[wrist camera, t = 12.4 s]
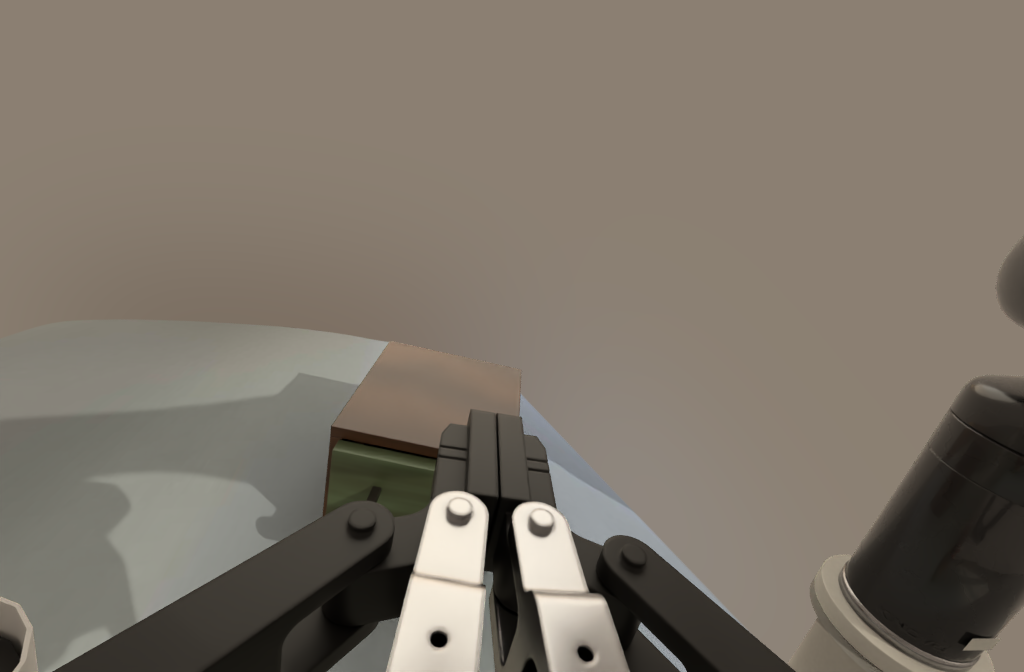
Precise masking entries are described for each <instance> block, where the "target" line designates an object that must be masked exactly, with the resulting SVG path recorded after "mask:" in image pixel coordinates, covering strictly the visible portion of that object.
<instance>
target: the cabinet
mask: <svg viewBox="0 0 1024 672" xmlns="http://www.w3.org/2000/svg"><path fill="white" fill-rule="evenodd" d="M520 388H521V370H520V369H516V368H511V367H507V366H502V365H497V364H493V363H488V362H484V361H479V360H475V359H470V358H465V357H461V356H457V355H452V354H448V353H443V352H439V351H434V350H429V349H425V348H420V347H416V346H411V345H407V344H402V343H397V342H393V341H390V342H389V343H388V345H387V346H386V348H385V349H384V351H383V352H382V354H381V355H380V356H379V358H378V359H377V361H376V362H375V364H374V365H373V367H372V368H371V369H370V371H369V372H368V374H367V375H366V377H365V378H364V380H363V381H362V383H361V384H360V385H359V387H358V388H357V390H356V391H355V393H354V394H353V396H352V397H351V398H350V400H349V401H348V403H347V404H346V406H345V407H344V409H343V410H342V412H341V413H340V414H339V416H338V417H337V419H336V420H335V422H334V423H333V425H332V426H331V434H330V435H331V436H330V446H329V456H328V466H327V476H326V487H325V497H324V507H323V516H325V515H326V508H327V498H328V488H329V479H330V469H331V459H332V450H333V448H334V447H335V445H336V444H337V442H338V440H343V441H348V442H353V443H355V441H358V442H362V443H367V444H372V445H377V446H382V447H386V448H391V449H396V450H401V451H406V452H410V453H415V454H420V455H425V456H429V457H434V458H437V454H438V449H439V444H440V439H441V434H442V432H443V431H444V430H445V429H446V427H447V426H448V425H449V424H450V423H453V424H459V425H466V426H467V422H468V417H469V413H470V410H471V409H475V410H481V411H487V412H494V413H495V414H497V413H500V414H507V415H513V416H519V412H520Z"/></svg>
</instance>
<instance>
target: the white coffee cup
mask: <svg viewBox="0 0 1024 672" xmlns="http://www.w3.org/2000/svg"><path fill="white" fill-rule="evenodd" d="M0 672H38V666H37V657H36V649H35V641H34V633H33V627H32V625H31V623H30V621H29V620H28V618H27V616H26V614H25V613H24V611H23V609H22V607H21V605H20V604H18V603H16V602H13V601H10V600H8V599H5V598H3V597H0Z"/></svg>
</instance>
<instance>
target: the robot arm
mask: <svg viewBox="0 0 1024 672" xmlns="http://www.w3.org/2000/svg"><path fill="white" fill-rule="evenodd" d="M996 296H997V300H998V303H999V305H1000V308H1001V310H1002V311H1003V312H1004V313H1005V315H1006V316H1007V317H1008V318H1009V319H1010V320H1011V321H1013V322H1014V323H1016V324H1017V325H1018V326H1020V327H1022V328H1024V236H1022V237H1021V239H1020V240H1019V241H1018V242H1017V243H1016V244H1015V245H1014V246H1013V248H1012V249H1011V250H1010V252H1009V253H1008V255H1007V256H1006V258H1005V259H1004V261H1003V263H1002V265H1001V267H1000V270H999V273H998V276H997V282H996ZM547 462H548V460H547V454H546V449H545V447H544V446H543V444H542V443H541V442H540V440H539V439H538V438H537V436H531V435H524V432H523V424H522V418H521V417H519V416H513V415H507V414H500V413H497V414H495V413H494V412H487V411H481V410H475V409H471V410H470V413H469V417H468V422H467V426H466V425H459V424H453V423H450V424H449V425H448V426H447V427H446V429H445V430H444V431H443V432H442V434H441V439H440V444H439V449H438V454H437V460H436V465H435V470H434V475H433V482H432V489H431V496H430V502H429V504H428V505H427V506H426V507H425V508H423V509H422V510H420V511H418V512H416V513H413V514H410V515H405V516H398V517H393V515H392V513H391V512H390V511H389V510H388V509H387V508H386V507H384V506H383V505H381V504H379V503H376V502H372V501H354V502H350V503H347V504H344V505H342V506H340V507H339V508H337V509H335V510H333V511H332V512H330V513H328V514H326V515H325V516H323V517H321V518H319V519H318V520H316V521H314V522H313V523H311V524H309V525H307V526H306V527H304V528H302V529H300V530H299V531H297V532H295V533H293V534H292V535H290V536H288V537H286V538H285V539H283V540H281V541H279V542H278V543H276V544H274V545H272V546H271V547H269V548H267V549H265V550H264V551H262V552H260V553H259V554H257V555H255V556H253V557H252V558H250V559H248V560H246V561H245V562H243V563H241V564H239V565H238V566H236V567H234V568H232V569H231V570H229V571H227V572H225V573H224V574H222V575H220V576H218V577H217V578H215V579H213V580H211V581H210V582H208V583H206V584H204V585H203V586H201V587H199V588H198V589H196V590H194V591H192V592H191V593H189V594H187V595H185V596H184V597H182V598H180V599H178V600H177V601H175V602H173V603H171V604H170V605H168V606H166V607H164V608H163V609H161V610H159V611H157V612H156V613H154V614H152V615H150V616H149V617H147V618H145V619H144V620H142V621H140V622H138V623H137V624H135V625H133V626H131V627H130V628H128V629H126V630H124V631H123V632H121V633H119V634H117V635H116V636H114V637H112V638H110V639H109V640H107V641H105V642H103V643H102V644H100V645H98V646H96V647H95V648H93V649H91V650H90V651H88V652H86V653H84V654H83V655H81V656H79V657H77V658H76V659H74V660H72V661H70V662H69V663H67V664H65V665H63V666H62V667H60V668H58V669H56V670H55V671H53V672H327V671H328V670H329V669H330V668H331V667H332V666H333V665H335V664H336V663H337V662H338V661H339V660H340V659H342V658H343V657H344V656H345V655H346V654H347V653H348V652H350V651H351V650H352V649H353V648H354V647H355V646H356V645H358V644H359V643H360V642H361V641H362V640H363V639H364V638H366V637H367V636H368V635H369V634H370V633H371V632H372V631H373V630H374V629H375V627H376V626H377V624H378V622H379V621H384V620H388V619H393V618H397V617H400V618H399V622H398V626H397V630H396V634H395V638H394V642H393V646H392V650H391V654H390V657H389V661H388V665H387V669H386V672H479V667H480V655H481V643H482V631H483V619H484V608H485V595H486V586H485V585H483V574H484V571H490V572H493V586H492V589H491V593H490V597H489V608H490V620H491V631H492V642H493V653H494V665H495V672H680V671H679V670H678V669H677V668H676V667H675V666H674V665H673V664H672V663H671V662H670V661H669V660H668V659H667V658H666V657H665V656H664V655H663V654H662V653H661V652H660V651H659V650H658V649H657V648H656V647H655V646H654V645H653V644H652V643H651V642H650V641H649V640H648V639H647V638H646V637H645V636H644V635H643V634H642V633H641V632H640V631H639V630H638V627H639V625H640V623H641V622H642V623H643V624H644V625H645V626H646V627H647V628H648V629H649V630H650V631H651V632H652V633H653V634H654V635H655V636H656V637H657V638H658V639H659V640H660V641H661V642H662V643H663V644H664V645H665V646H666V647H667V648H668V649H669V650H670V651H671V652H672V653H673V654H674V655H675V656H676V657H677V658H678V659H679V660H680V661H681V662H682V664H683V665H684V667H685V668H686V670H687V672H795V671H794V670H793V669H792V668H791V667H790V666H788V665H787V664H786V663H785V662H784V661H783V660H781V659H780V658H779V657H778V656H777V655H776V654H774V653H773V652H772V651H771V650H770V649H768V648H767V647H766V646H765V645H764V644H763V643H761V642H760V641H759V640H758V639H757V638H756V637H754V636H753V635H752V634H751V633H750V632H749V631H747V630H746V629H745V628H744V627H743V626H741V625H740V624H739V623H738V622H737V621H736V620H734V619H733V618H732V617H731V616H730V615H729V614H727V613H726V612H725V611H724V610H723V609H722V608H720V607H719V606H718V605H717V604H716V603H715V602H713V601H712V600H711V599H710V598H709V597H707V596H706V595H705V594H704V593H703V592H702V591H700V590H699V589H698V588H697V587H696V586H695V585H693V584H692V583H691V582H690V581H689V580H688V579H686V578H685V577H684V576H683V575H682V574H680V573H679V572H678V571H677V570H676V569H675V568H673V567H672V566H671V565H670V564H669V563H668V562H666V561H665V560H664V559H663V558H662V557H661V556H659V555H658V554H657V553H656V552H655V551H654V550H652V549H651V548H650V547H649V546H647V545H646V544H645V543H643V542H641V541H640V540H638V539H636V538H633V537H629V536H624V535H617V536H613V537H611V538H609V539H608V540H606V542H605V543H604V546H602V545H599V544H596V543H594V542H591V541H589V540H586V539H584V538H582V537H580V536H578V535H576V534H575V533H573V532H572V531H571V530H570V527H569V524H568V521H567V520H566V518H565V517H564V515H563V514H562V513H561V512H560V511H558V510H557V509H556V503H555V498H554V492H553V487H552V481H551V476H550V473H549V465H548V463H547ZM838 582H839V586H840V589H841V591H842V594H843V595H844V597H845V599H846V601H847V602H848V604H849V605H850V606H851V608H852V609H853V610H854V611H855V613H856V614H857V615H858V616H859V617H860V618H861V619H862V620H863V621H864V622H865V623H866V624H867V625H868V626H869V627H870V628H871V629H872V630H873V631H874V632H875V633H877V634H878V635H879V636H880V637H881V638H883V639H884V640H885V641H887V642H888V643H889V644H891V645H892V646H894V647H895V648H896V649H898V650H900V651H901V652H903V653H904V654H906V655H908V656H909V657H911V658H913V659H915V660H917V661H919V662H921V663H923V664H925V665H927V666H930V667H932V668H935V669H938V670H941V671H945V672H967V671H969V670H970V669H971V668H972V667H973V666H974V665H975V664H976V663H977V662H978V660H979V659H980V657H981V654H982V653H983V652H984V650H991V649H992V648H993V647H994V646H995V645H996V644H997V643H998V642H999V641H1000V639H995V638H996V637H997V636H998V634H999V633H1001V632H1002V630H1003V629H1004V628H1005V627H1006V626H1007V625H1008V624H1009V622H1010V621H1011V620H1012V619H1013V618H1014V617H1015V616H1016V615H1017V613H1018V612H1019V611H1020V610H1021V609H1022V608H1023V607H1024V376H1006V375H985V376H978V377H975V378H973V379H972V380H970V381H968V382H967V383H966V384H965V386H964V387H963V388H962V389H961V391H960V393H959V394H958V395H957V397H956V398H955V400H954V402H953V403H952V405H951V407H950V409H949V410H948V411H947V413H946V414H945V416H944V418H943V419H942V420H941V422H940V424H939V425H938V427H937V428H936V430H935V431H934V433H933V434H932V436H931V437H930V439H929V441H928V442H927V444H926V445H925V447H924V448H923V450H922V452H921V453H920V454H919V456H918V457H917V459H916V461H915V462H914V463H913V465H912V466H911V468H910V469H909V471H908V473H907V474H906V476H905V477H904V479H903V480H902V482H901V483H900V485H899V486H898V488H897V489H896V491H895V492H894V494H893V495H892V497H891V498H890V500H889V501H888V503H887V504H886V506H885V507H884V509H883V510H882V512H881V513H880V515H879V516H878V518H877V519H876V521H875V523H874V524H873V525H872V527H871V529H870V530H869V532H868V533H867V535H866V536H865V538H864V539H863V540H862V542H861V543H860V545H859V546H858V548H857V549H856V551H855V552H854V554H853V555H852V557H851V558H850V560H849V561H847V562H846V563H845V565H844V566H843V568H842V569H841V571H840V573H839V576H838Z"/></svg>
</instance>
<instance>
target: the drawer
mask: <svg viewBox="0 0 1024 672" xmlns="http://www.w3.org/2000/svg"><path fill="white" fill-rule="evenodd" d="M436 460H437V458H434V457H429V456H425V455H420V454H415V453H410V452H406V451H401V450H396V449H391V448H386V447H382V446H377V445H372V444H367V443H362V442H358V441H355V443H353V442H348V441H343V440H338V442H337V444H336V445H335V447H334V448H333V450H332V459H331V469H330V479H329V488H328V498H327V508H326V514H328V513H330V512H332V511H333V510H335V509H337V508H339V507H340V506H342V505H344V504H347V503H350V502H354V501H372V502H376V503H379V504H381V505H383V506H384V507H386V508H387V509H388V510H389V511H390V512H391V513H392V515H393V517H398V516H405V515H410V514H413V513H416V512H418V511H420V510H422V509H423V508H425V507H426V506H427V505H428V504H429V502H430V496H431V489H432V482H433V475H434V470H435V465H436Z"/></svg>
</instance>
